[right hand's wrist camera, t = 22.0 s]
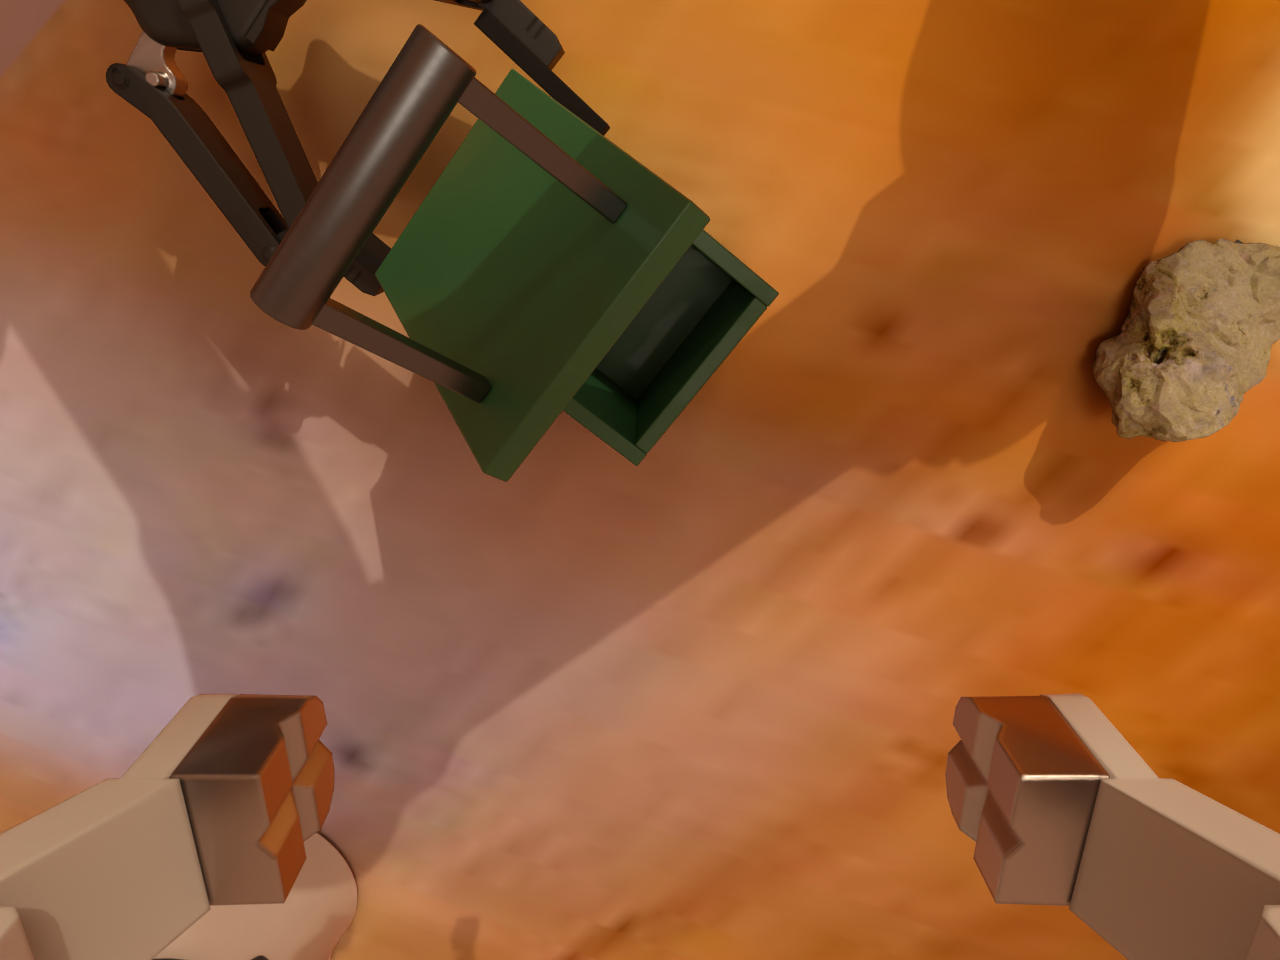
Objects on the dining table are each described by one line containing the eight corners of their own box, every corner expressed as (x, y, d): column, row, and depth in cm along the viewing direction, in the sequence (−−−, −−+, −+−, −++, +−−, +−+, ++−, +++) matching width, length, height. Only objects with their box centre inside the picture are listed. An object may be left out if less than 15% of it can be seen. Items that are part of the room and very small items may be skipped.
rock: (1281, 244, 45) (1124, 223, 43) (1396, 261, 39) (1221, 236, 37) (1206, 428, 49) (1059, 416, 47) (1301, 468, 43) (1138, 455, 41)
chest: (749, 276, 44) (779, 293, 34) (638, 414, 47) (637, 466, 37) (551, 110, 42) (522, 78, 32) (445, 265, 44) (387, 278, 34)
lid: (712, 219, 22) (479, 8, 17) (507, 483, 25) (242, 377, 19) (529, 83, 32) (340, -82, 26) (393, 285, 34) (193, 174, 28)
